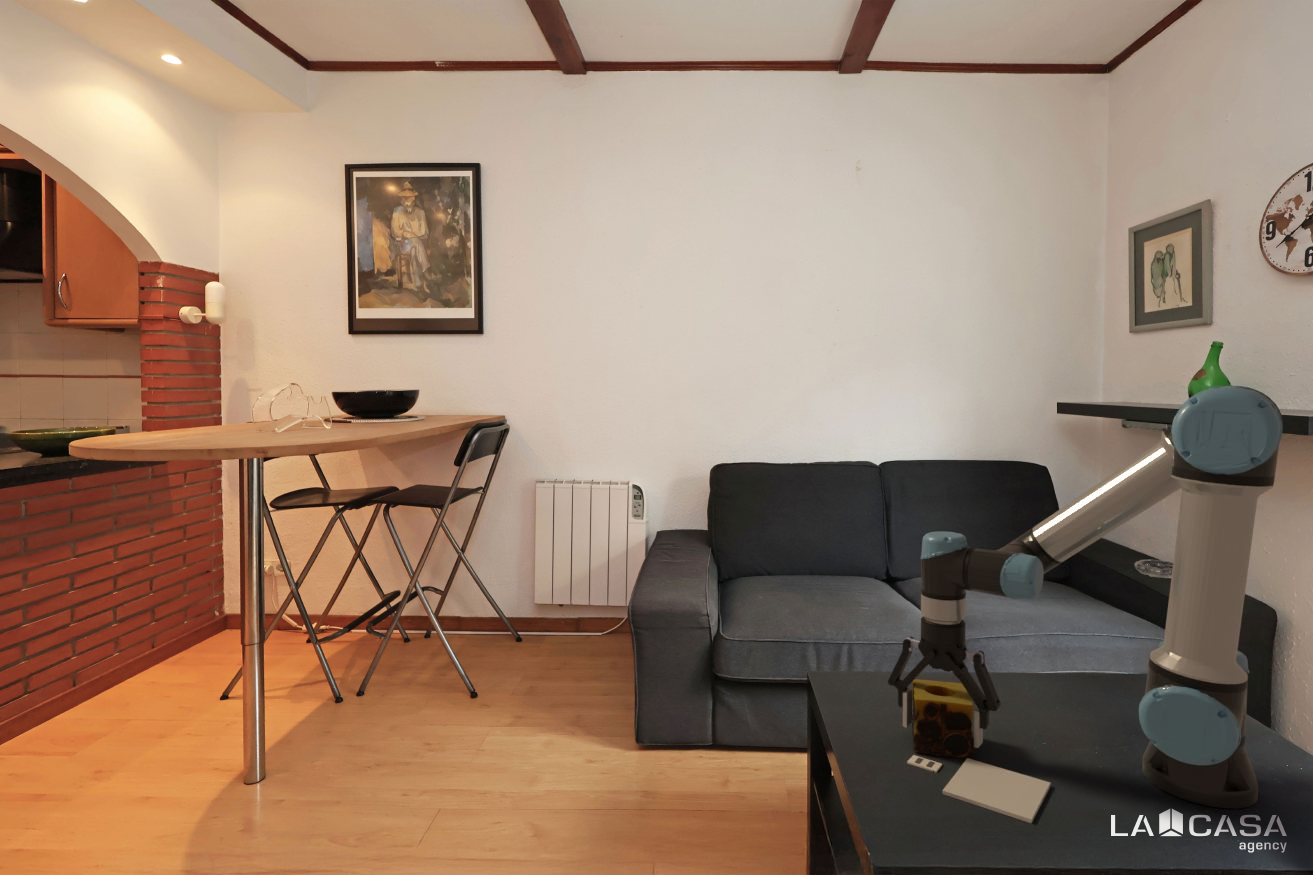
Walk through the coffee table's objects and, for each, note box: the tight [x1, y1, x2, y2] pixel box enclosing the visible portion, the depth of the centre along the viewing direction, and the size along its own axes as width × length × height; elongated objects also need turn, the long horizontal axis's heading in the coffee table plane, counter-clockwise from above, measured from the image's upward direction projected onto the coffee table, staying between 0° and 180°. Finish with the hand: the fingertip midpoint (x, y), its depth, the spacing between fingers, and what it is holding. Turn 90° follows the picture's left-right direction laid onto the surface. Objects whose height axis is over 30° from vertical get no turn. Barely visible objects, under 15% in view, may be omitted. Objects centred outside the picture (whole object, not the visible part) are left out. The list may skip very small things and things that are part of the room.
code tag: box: [906, 754, 943, 773], centre depth 126 cm, size 5×3×1 cm, turn 51°
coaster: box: [942, 758, 1052, 824], centre depth 118 cm, size 13×13×1 cm
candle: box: [911, 678, 975, 760], centre depth 133 cm, size 10×10×10 cm
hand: (941, 734), depth 133 cm, fingers closed on candle, 12 cm apart
